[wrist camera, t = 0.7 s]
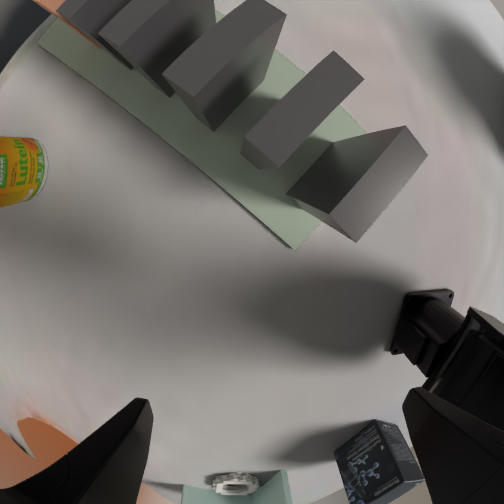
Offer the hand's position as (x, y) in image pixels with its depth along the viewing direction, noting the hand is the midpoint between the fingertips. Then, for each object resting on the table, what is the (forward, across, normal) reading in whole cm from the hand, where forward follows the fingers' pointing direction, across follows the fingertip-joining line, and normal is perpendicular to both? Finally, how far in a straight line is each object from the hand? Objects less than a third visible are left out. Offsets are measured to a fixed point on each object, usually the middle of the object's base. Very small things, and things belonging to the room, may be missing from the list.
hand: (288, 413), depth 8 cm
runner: (+13, +6, -15) cm, 21 cm away
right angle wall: (+14, +3, +34) cm, 36 cm away
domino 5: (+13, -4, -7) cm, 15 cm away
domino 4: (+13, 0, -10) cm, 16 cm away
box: (+14, -15, +24) cm, 32 cm away
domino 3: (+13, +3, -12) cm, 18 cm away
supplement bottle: (+13, +20, -8) cm, 25 cm away
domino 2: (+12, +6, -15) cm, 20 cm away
